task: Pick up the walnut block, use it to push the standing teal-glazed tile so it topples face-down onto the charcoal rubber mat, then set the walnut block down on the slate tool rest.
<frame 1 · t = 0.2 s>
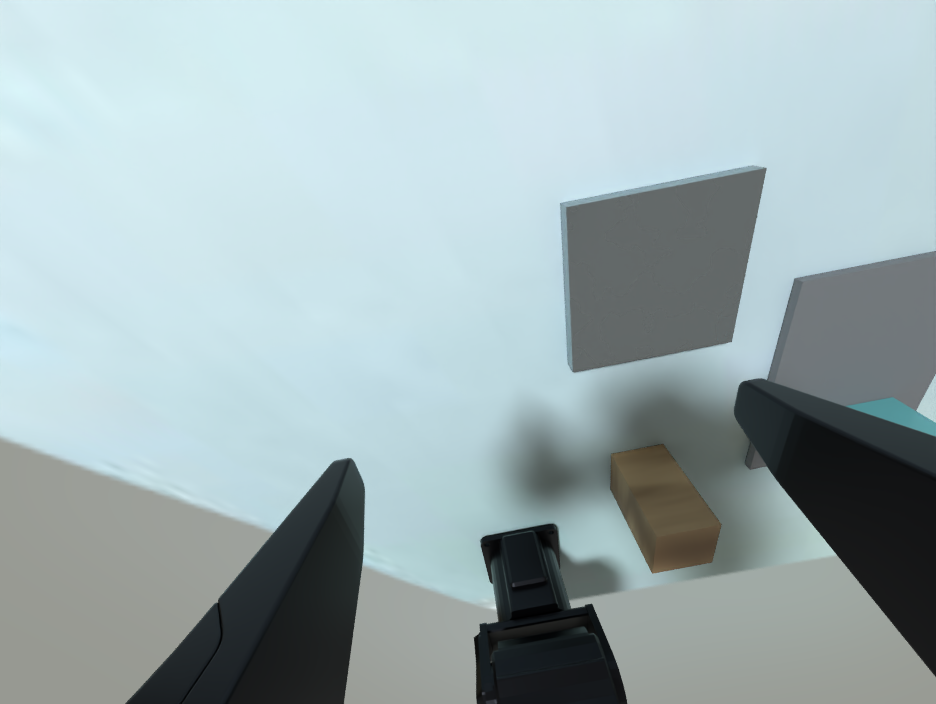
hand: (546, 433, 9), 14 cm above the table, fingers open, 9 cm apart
walnut block: (635, 467, 31), on the table
glazed tile: (840, 417, 30), point 1 cm above the table, touching rubber mat
tool rest: (649, 275, 23), on the table
rubber mat: (850, 368, 28), on the table
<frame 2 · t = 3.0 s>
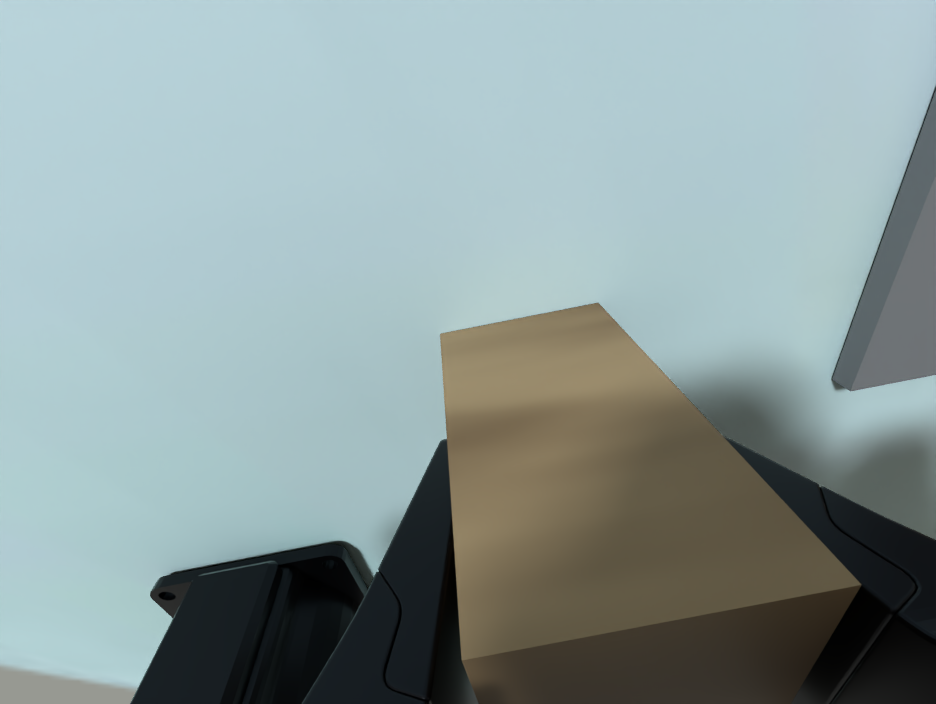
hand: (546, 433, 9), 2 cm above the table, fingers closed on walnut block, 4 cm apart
walnut block: (526, 383, 11), on the table, touching gripper
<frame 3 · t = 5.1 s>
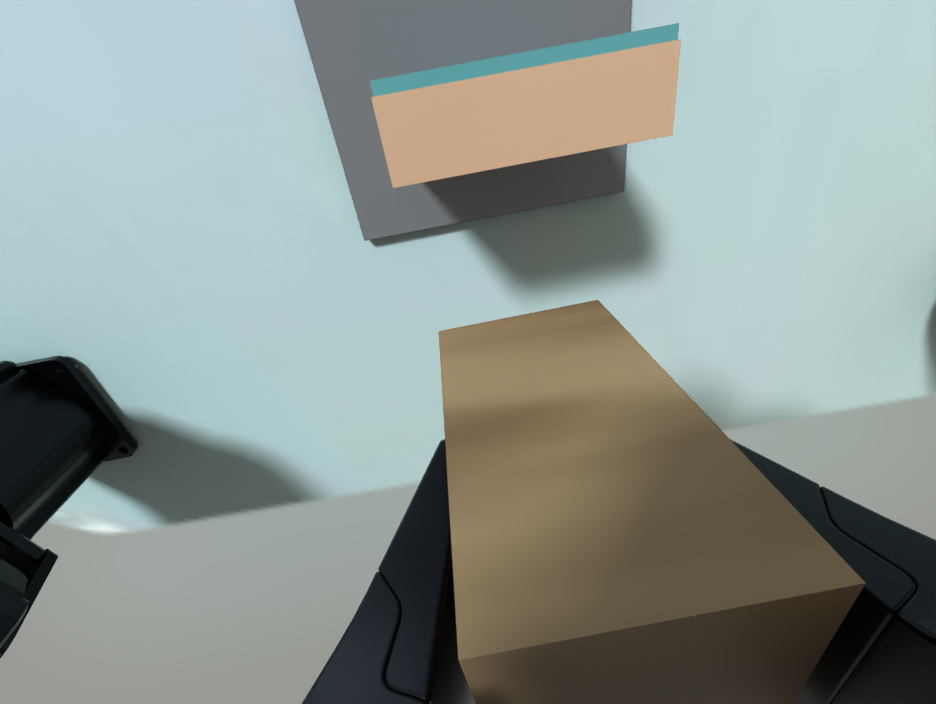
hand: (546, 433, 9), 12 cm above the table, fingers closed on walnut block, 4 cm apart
walnut block: (526, 381, 11), point 10 cm above the table, touching gripper
glazed tile: (482, 114, 16), point 1 cm above the table, touching rubber mat
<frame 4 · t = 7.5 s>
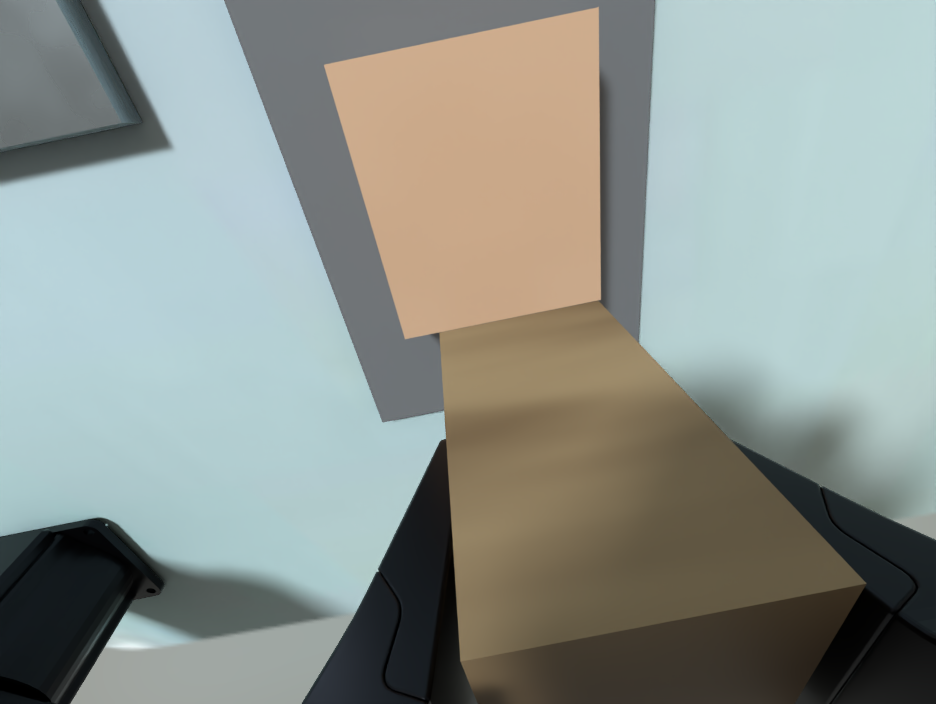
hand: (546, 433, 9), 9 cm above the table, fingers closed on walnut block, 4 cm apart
walnut block: (526, 381, 11), point 7 cm above the table, touching gripper
glazed tile: (497, 306, 15), point 2 cm above the table, tilted 90°, touching rubber mat
rubber mat: (480, 219, 15), on the table
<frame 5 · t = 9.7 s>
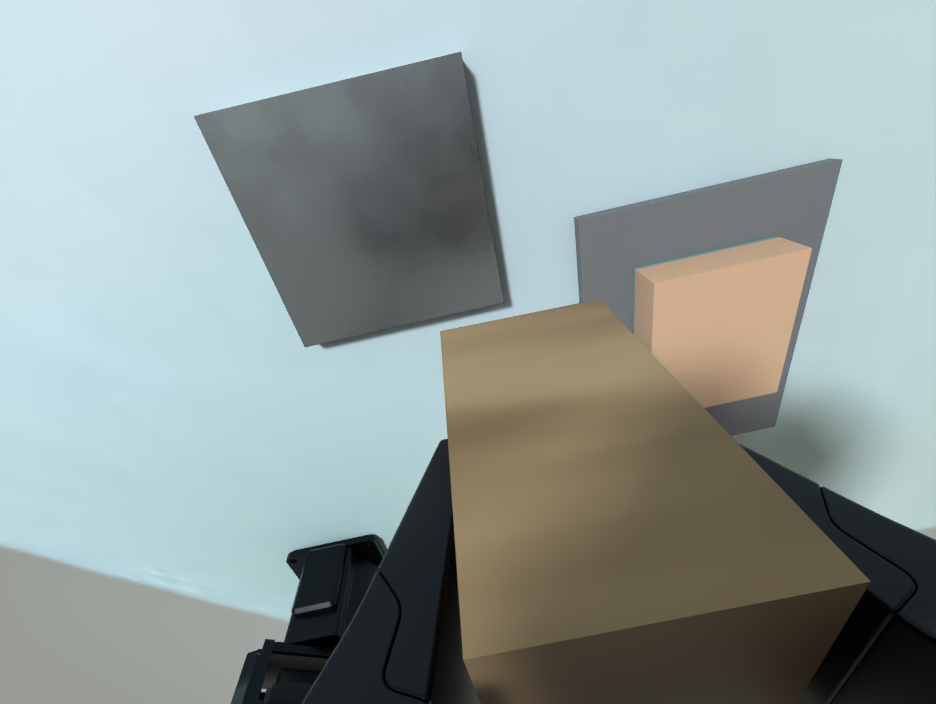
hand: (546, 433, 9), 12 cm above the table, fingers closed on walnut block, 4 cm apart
walnut block: (527, 380, 11), point 10 cm above the table, touching gripper
glazed tile: (700, 393, 23), point 2 cm above the table, tilted 90°, touching rubber mat
tool rest: (373, 217, 18), on the table
rubber mat: (687, 336, 23), on the table
when the fingers open (4 cm above the table, at t = 11.8 s): walnut block drops 1 cm, resting on tool rest.
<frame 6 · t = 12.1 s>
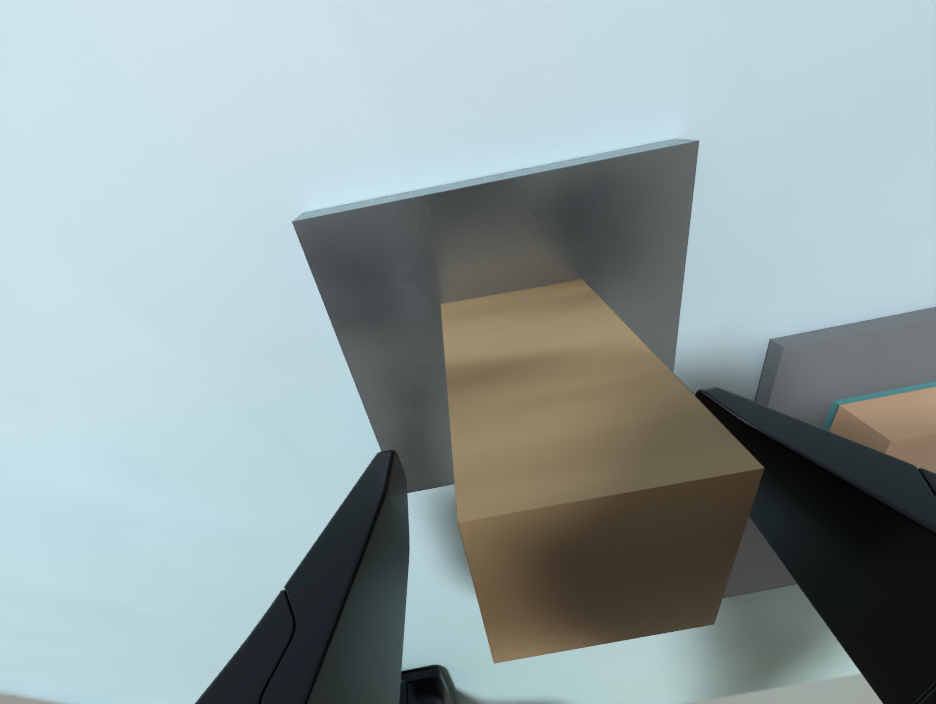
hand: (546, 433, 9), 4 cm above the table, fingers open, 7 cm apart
walnut block: (517, 352, 12), point 1 cm above the table, touching tool rest
glazed tile: (878, 539, 18), point 2 cm above the table, tilted 90°, touching rubber mat
tool rest: (510, 339, 13), on the table
rubber mat: (864, 466, 18), on the table
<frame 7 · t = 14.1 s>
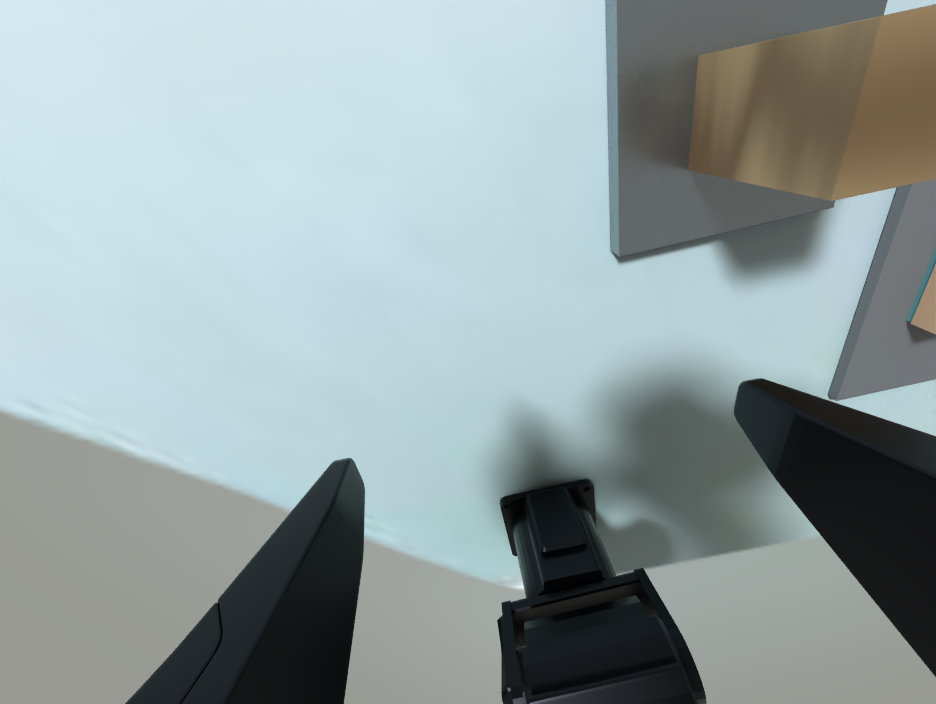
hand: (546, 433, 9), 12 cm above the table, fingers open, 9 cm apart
walnut block: (742, 105, 16), point 1 cm above the table, touching tool rest
tool rest: (725, 108, 17), on the table
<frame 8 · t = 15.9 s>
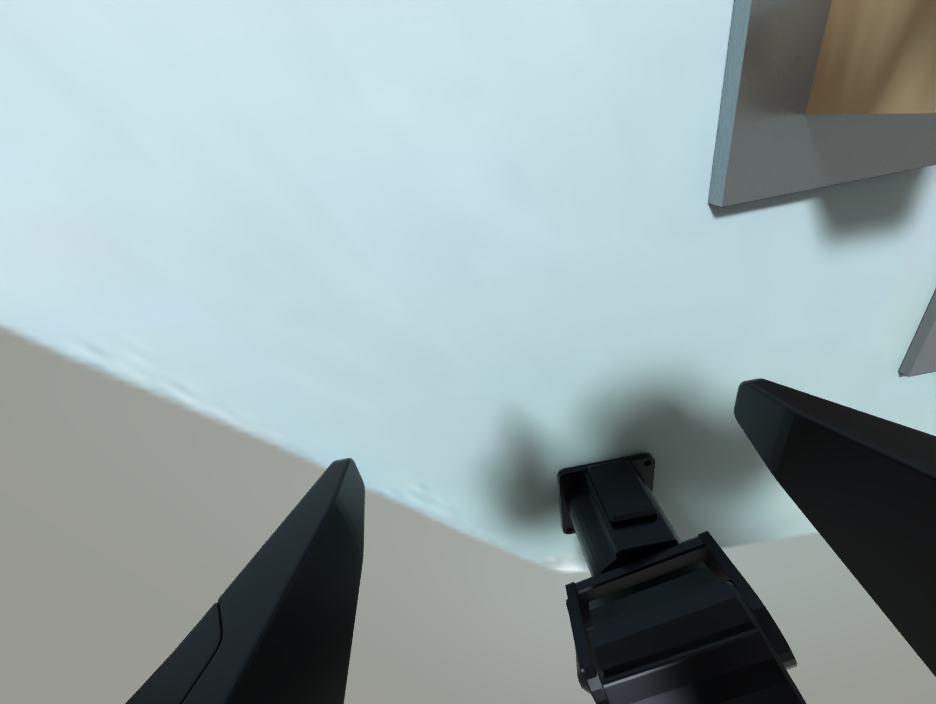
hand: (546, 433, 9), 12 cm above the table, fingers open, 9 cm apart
walnut block: (870, 46, 16), point 1 cm above the table, touching tool rest
tool rest: (845, 52, 16), on the table
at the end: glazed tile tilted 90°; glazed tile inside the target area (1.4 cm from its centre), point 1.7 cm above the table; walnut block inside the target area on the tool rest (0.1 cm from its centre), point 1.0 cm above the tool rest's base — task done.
